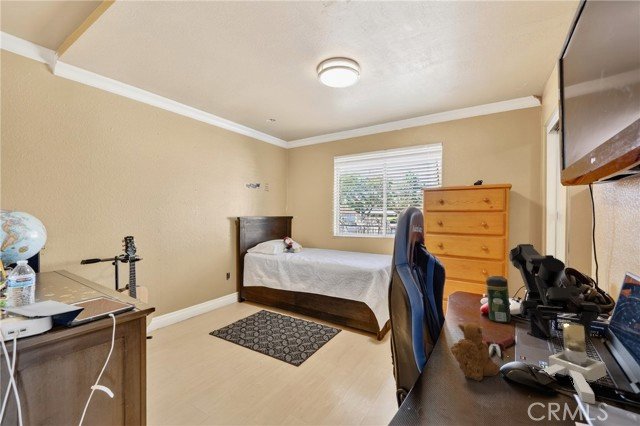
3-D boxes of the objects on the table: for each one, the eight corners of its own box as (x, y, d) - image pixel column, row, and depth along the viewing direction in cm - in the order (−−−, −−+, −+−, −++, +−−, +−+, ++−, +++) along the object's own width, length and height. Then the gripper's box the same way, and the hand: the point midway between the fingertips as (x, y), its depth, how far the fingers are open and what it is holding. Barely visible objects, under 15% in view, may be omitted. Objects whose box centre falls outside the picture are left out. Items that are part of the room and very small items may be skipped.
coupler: (566, 366, 77) (561, 320, 78) (587, 371, 74) (583, 323, 75) (566, 373, 74) (562, 325, 75) (589, 378, 71) (584, 328, 72)
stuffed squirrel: (501, 369, 77) (497, 322, 78) (488, 391, 68) (484, 337, 68) (463, 358, 85) (460, 315, 85) (447, 376, 75) (444, 328, 75)
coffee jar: (490, 315, 124) (487, 274, 125) (511, 318, 119) (508, 275, 120) (487, 321, 116) (484, 277, 117) (509, 324, 111) (506, 279, 112)
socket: (566, 362, 80) (565, 350, 80) (630, 384, 68) (628, 370, 68) (525, 379, 72) (524, 365, 72) (589, 407, 60) (587, 391, 60)
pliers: (474, 356, 87) (473, 347, 87) (476, 334, 104) (476, 327, 104) (518, 364, 80) (517, 355, 81) (513, 340, 97) (512, 332, 98)
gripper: (519, 274, 87) (533, 321, 77) (594, 276, 80) (622, 328, 69) (514, 293, 94) (527, 338, 84) (583, 296, 87) (607, 346, 76)
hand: (568, 337), depth 78 cm, fingers open, 9 cm apart
